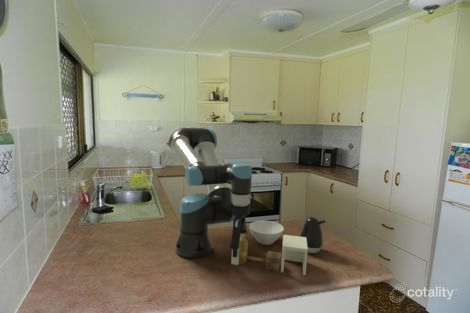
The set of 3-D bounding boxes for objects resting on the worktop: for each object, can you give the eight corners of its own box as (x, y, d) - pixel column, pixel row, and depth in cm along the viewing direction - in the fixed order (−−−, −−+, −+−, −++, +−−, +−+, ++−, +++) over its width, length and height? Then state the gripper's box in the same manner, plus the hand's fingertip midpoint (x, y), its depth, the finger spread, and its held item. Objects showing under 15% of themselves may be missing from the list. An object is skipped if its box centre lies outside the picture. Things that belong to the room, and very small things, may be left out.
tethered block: (235, 263, 110) (236, 241, 109) (238, 257, 115) (239, 236, 114) (278, 271, 105) (280, 248, 104) (280, 265, 110) (281, 243, 109)
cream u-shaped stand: (280, 271, 105) (282, 246, 104) (281, 258, 115) (283, 234, 114) (305, 275, 104) (307, 249, 102) (304, 261, 114) (306, 237, 112)
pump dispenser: (324, 257, 117) (327, 222, 115) (298, 254, 119) (300, 220, 117) (321, 247, 127) (324, 214, 125) (298, 244, 129) (300, 212, 127)
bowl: (260, 252, 120) (260, 236, 119) (242, 237, 134) (242, 223, 133) (290, 245, 128) (291, 230, 127) (269, 232, 142) (270, 218, 141)
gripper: (244, 215, 96) (242, 273, 99) (254, 195, 120) (251, 243, 123) (223, 212, 98) (221, 270, 101) (236, 194, 122) (235, 241, 125)
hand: (238, 255), depth 112 cm, fingers open, 12 cm apart
